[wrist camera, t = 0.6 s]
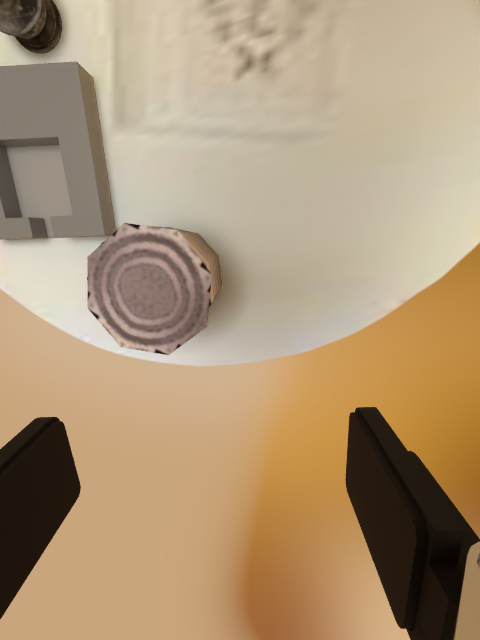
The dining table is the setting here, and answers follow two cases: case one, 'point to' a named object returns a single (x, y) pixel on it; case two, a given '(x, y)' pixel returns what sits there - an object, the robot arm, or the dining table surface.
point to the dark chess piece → (31, 23)
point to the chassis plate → (51, 154)
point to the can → (152, 286)
